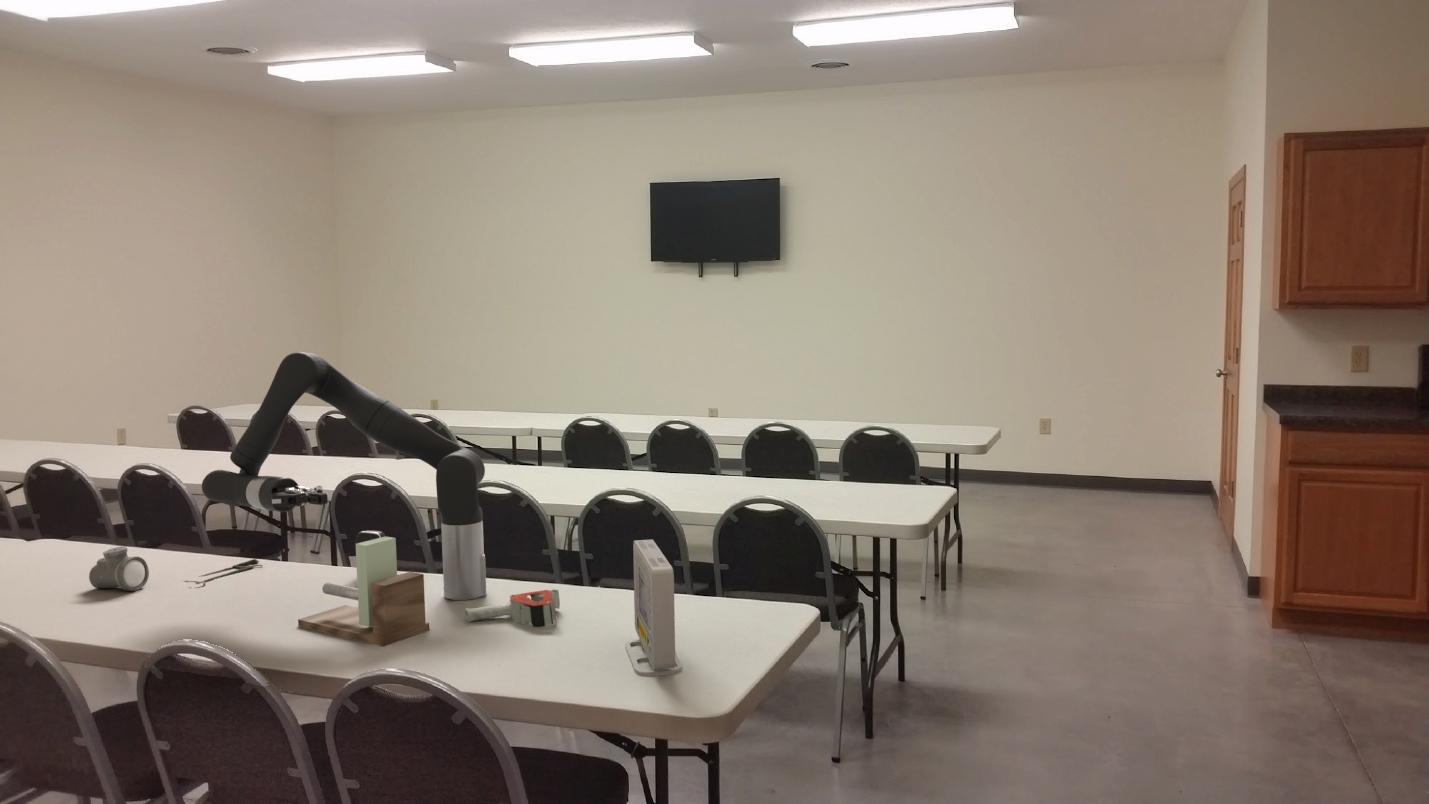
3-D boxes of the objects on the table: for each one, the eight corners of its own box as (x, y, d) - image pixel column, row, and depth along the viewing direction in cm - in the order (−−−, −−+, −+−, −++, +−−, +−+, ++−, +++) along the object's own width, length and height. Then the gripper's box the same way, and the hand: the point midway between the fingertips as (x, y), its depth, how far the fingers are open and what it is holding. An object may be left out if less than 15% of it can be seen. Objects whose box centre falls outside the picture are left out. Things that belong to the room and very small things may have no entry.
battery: (389, 575, 261) (388, 530, 259) (380, 579, 257) (378, 533, 256) (365, 573, 263) (363, 528, 262) (356, 577, 259) (354, 531, 258)
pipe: (321, 596, 223) (321, 583, 222) (333, 593, 225) (332, 579, 225) (393, 611, 211) (392, 597, 211) (404, 608, 213) (403, 594, 213)
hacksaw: (255, 563, 276) (255, 557, 276) (281, 568, 271) (281, 562, 271) (168, 585, 256) (168, 579, 256) (194, 590, 251) (194, 584, 250)
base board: (298, 626, 220) (295, 570, 219) (345, 611, 230) (343, 557, 229) (383, 646, 207) (380, 586, 205) (429, 630, 217) (427, 573, 216)
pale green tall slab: (359, 624, 213) (355, 543, 212) (388, 614, 220) (385, 536, 218) (369, 626, 212) (365, 545, 210) (398, 616, 218) (395, 538, 216)
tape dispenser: (459, 629, 223) (526, 639, 211) (456, 604, 223) (523, 614, 211) (520, 604, 238) (585, 613, 226) (517, 581, 237) (583, 589, 225)
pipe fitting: (154, 583, 254) (144, 542, 252) (127, 595, 246) (117, 553, 245) (115, 586, 257) (105, 545, 256) (87, 597, 250) (77, 556, 248)
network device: (688, 679, 187) (686, 568, 185) (639, 683, 185) (637, 572, 183) (664, 635, 212) (662, 537, 210) (621, 638, 210) (619, 539, 208)
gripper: (244, 481, 225) (296, 486, 215) (297, 471, 236) (349, 476, 227) (246, 516, 225) (298, 523, 216) (299, 504, 236) (351, 511, 227)
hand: (324, 499), depth 221 cm, fingers closed
